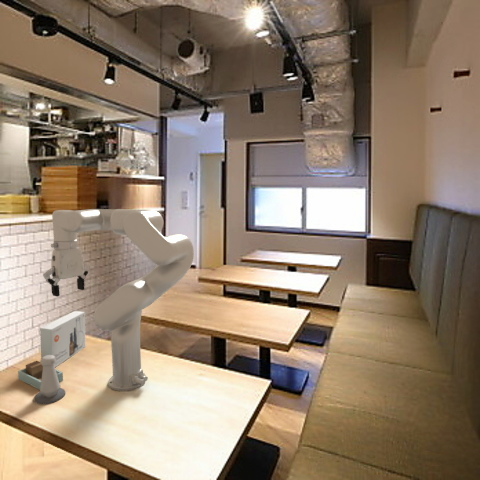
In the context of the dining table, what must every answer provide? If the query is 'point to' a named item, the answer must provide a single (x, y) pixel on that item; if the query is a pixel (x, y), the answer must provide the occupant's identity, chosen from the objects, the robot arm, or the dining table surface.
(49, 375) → the salt shaker
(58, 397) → the coaster
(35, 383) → the tray
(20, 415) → the dining table surface
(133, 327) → the robot arm
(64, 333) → the skincare box
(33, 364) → the walnut block
